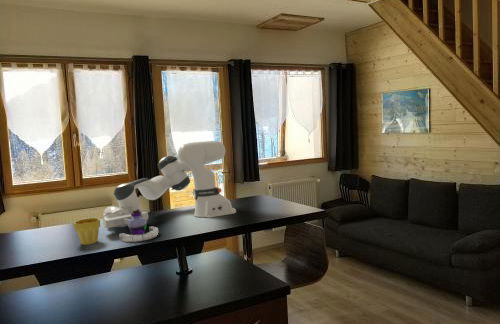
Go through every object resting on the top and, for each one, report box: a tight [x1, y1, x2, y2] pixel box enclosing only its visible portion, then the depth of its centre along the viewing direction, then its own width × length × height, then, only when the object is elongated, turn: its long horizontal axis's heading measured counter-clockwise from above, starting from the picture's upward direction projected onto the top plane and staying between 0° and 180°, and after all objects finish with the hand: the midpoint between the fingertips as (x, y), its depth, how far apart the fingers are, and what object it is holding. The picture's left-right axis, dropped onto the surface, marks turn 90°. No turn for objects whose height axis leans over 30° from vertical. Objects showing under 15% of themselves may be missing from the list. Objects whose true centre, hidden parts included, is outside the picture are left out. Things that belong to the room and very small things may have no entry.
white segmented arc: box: [118, 226, 159, 243], centre depth 177 cm, size 11×16×2 cm
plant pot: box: [73, 217, 101, 246], centre depth 174 cm, size 10×10×10 cm
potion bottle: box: [127, 209, 148, 235], centre depth 179 cm, size 9×9×12 cm
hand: (132, 221), depth 182 cm, fingers closed, pressing on potion bottle
